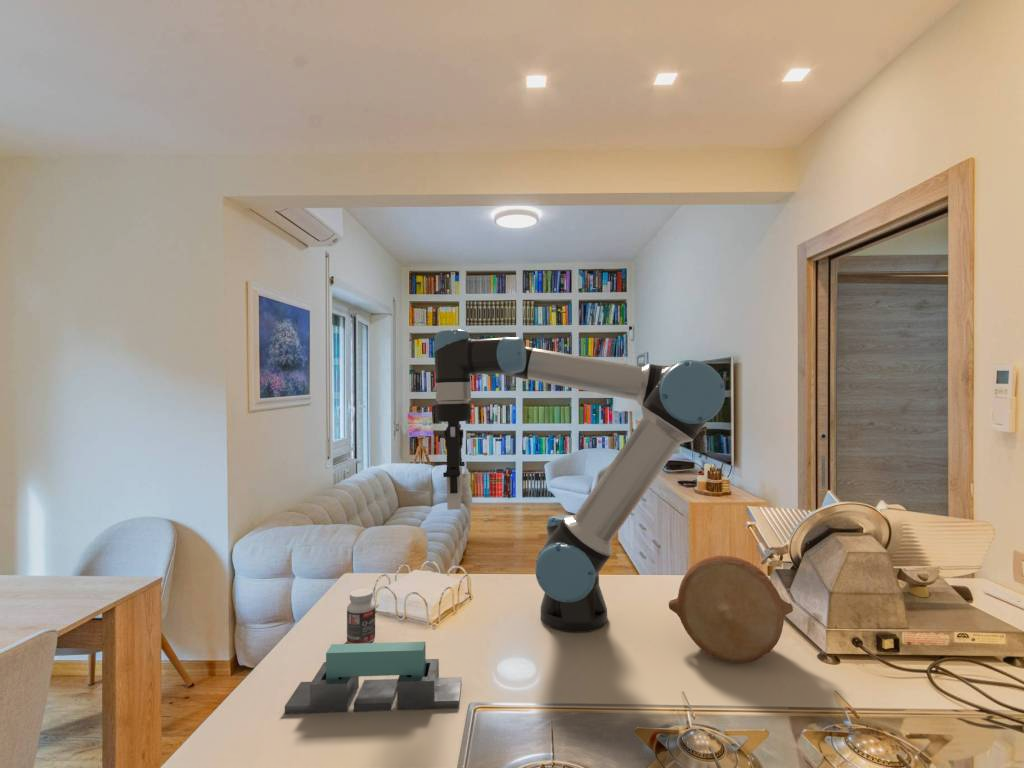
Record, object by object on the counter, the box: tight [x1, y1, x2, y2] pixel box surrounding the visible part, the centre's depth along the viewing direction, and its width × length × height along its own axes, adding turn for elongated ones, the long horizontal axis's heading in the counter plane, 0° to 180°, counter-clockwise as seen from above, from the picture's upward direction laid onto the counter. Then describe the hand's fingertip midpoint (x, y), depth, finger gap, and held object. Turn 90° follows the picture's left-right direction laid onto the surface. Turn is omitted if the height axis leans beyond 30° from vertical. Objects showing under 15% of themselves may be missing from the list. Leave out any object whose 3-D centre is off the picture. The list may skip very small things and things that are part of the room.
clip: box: [325, 641, 427, 680], centre depth 87 cm, size 16×3×8 cm, turn 92°
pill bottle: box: [346, 587, 376, 644], centre depth 107 cm, size 6×6×10 cm
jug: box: [668, 555, 794, 664], centre depth 106 cm, size 20×19×30 cm
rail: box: [284, 658, 463, 715], centre depth 87 cm, size 28×7×4 cm, turn 92°
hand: (455, 502), depth 109 cm, fingers open, 13 cm apart
